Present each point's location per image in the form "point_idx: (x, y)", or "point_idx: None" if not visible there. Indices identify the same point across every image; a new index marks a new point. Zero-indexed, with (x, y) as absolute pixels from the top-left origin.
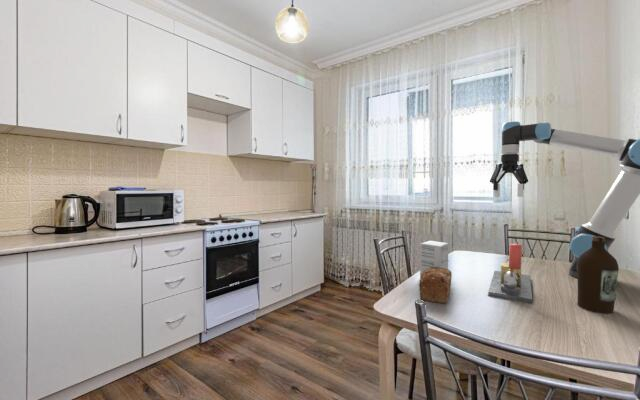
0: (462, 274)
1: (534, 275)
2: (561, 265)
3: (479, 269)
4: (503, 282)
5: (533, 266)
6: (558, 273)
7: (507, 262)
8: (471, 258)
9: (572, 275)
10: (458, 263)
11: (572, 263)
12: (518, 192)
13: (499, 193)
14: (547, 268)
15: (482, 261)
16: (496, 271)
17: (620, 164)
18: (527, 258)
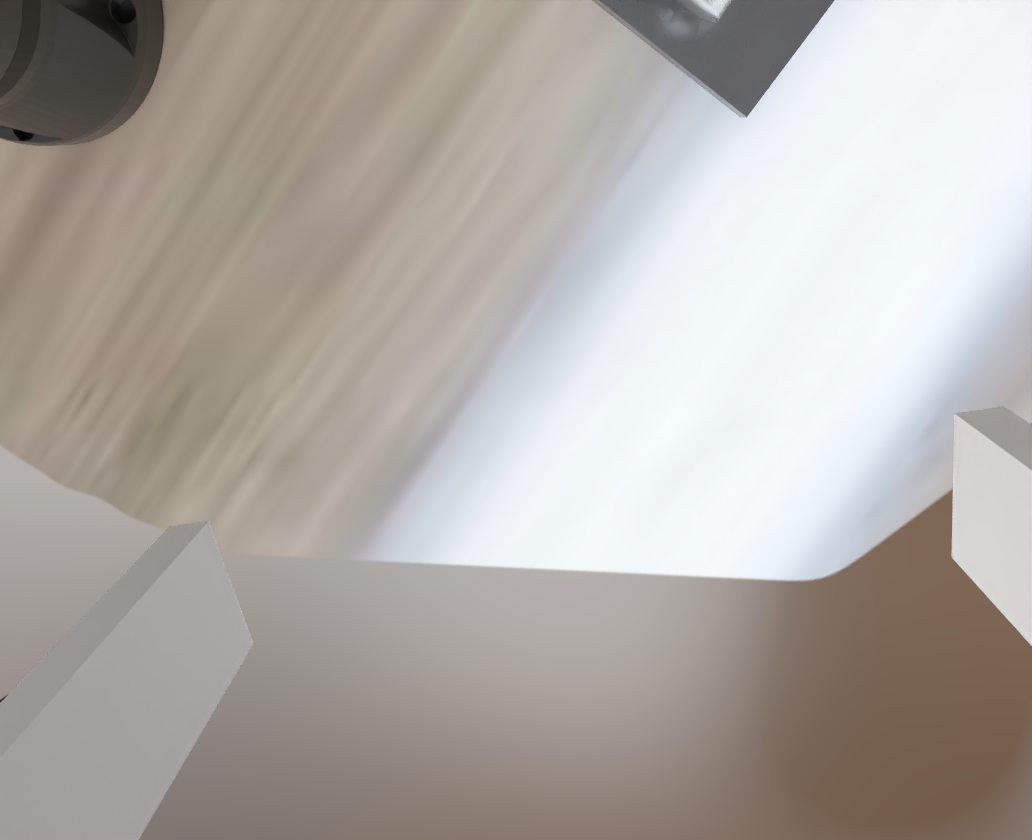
0: (1027, 101)
1: (445, 59)
2: (58, 335)
3: (783, 244)
4: None
5: (292, 315)
6: (218, 113)
7: (720, 7)
8: (639, 555)
9: (159, 16)
10: (840, 421)
11: (87, 54)
12: (194, 692)
13: (1026, 456)
14: (217, 256)
15: (606, 469)
16: (750, 88)
17: None
18: None
